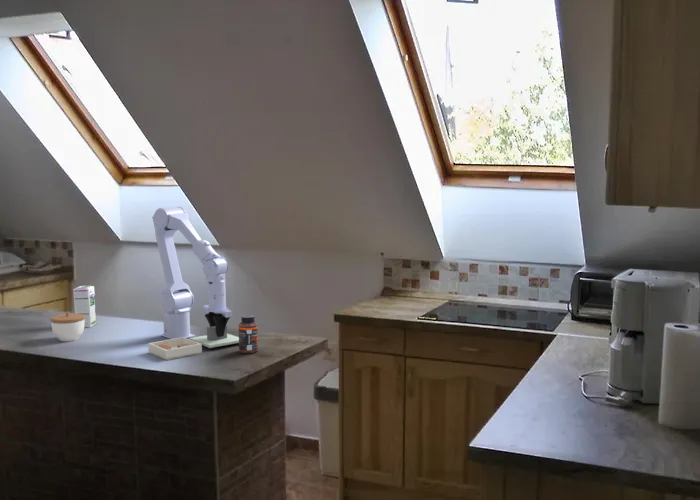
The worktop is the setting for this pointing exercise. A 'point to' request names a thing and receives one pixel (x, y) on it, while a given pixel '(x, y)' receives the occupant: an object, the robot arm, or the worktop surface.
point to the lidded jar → (68, 326)
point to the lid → (215, 338)
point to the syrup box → (85, 304)
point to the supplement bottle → (248, 335)
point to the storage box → (174, 348)
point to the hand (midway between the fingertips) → (218, 335)
